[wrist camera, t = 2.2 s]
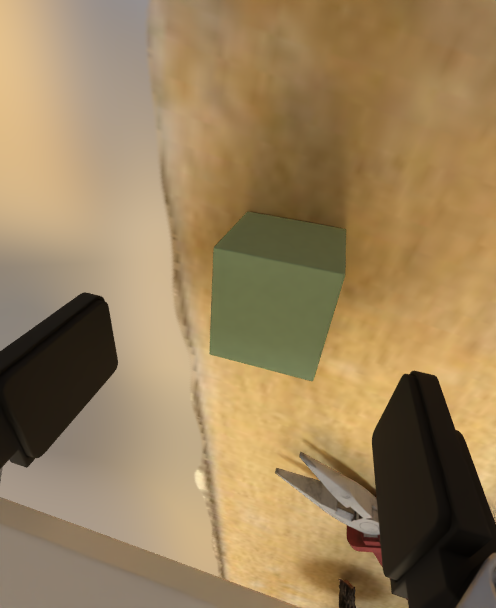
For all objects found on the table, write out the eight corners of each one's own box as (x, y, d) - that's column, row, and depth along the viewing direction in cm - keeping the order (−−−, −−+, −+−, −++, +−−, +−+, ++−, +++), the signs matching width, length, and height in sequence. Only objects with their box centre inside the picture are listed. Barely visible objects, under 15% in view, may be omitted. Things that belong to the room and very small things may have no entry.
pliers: (344, 410, 19) (343, 448, 17) (582, 568, 21) (607, 620, 19) (249, 473, 26) (240, 506, 24) (437, 590, 28) (444, 630, 26)
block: (238, 301, 17) (208, 354, 14) (247, 210, 15) (212, 246, 11) (320, 320, 17) (312, 382, 13) (346, 228, 14) (345, 274, 10)
